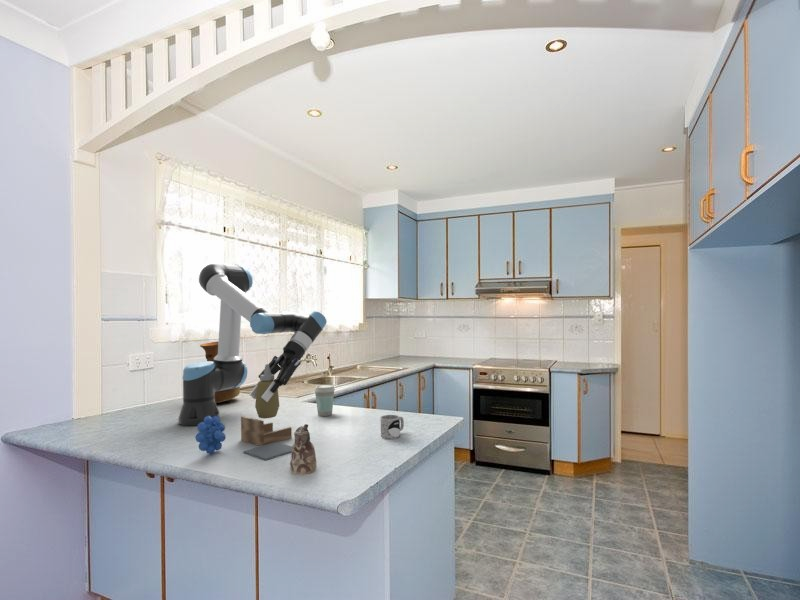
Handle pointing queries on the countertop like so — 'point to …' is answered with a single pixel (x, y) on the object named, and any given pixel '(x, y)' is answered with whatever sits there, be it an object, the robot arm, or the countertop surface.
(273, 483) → the countertop surface
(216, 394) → the ceramic pitcher
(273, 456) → the rubber mat
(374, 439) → the countertop surface
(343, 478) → the countertop surface
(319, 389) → the coffee cup
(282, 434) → the brown wooden frame
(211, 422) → the grapes
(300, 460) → the figurine
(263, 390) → the squeeze bottle
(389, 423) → the mug
